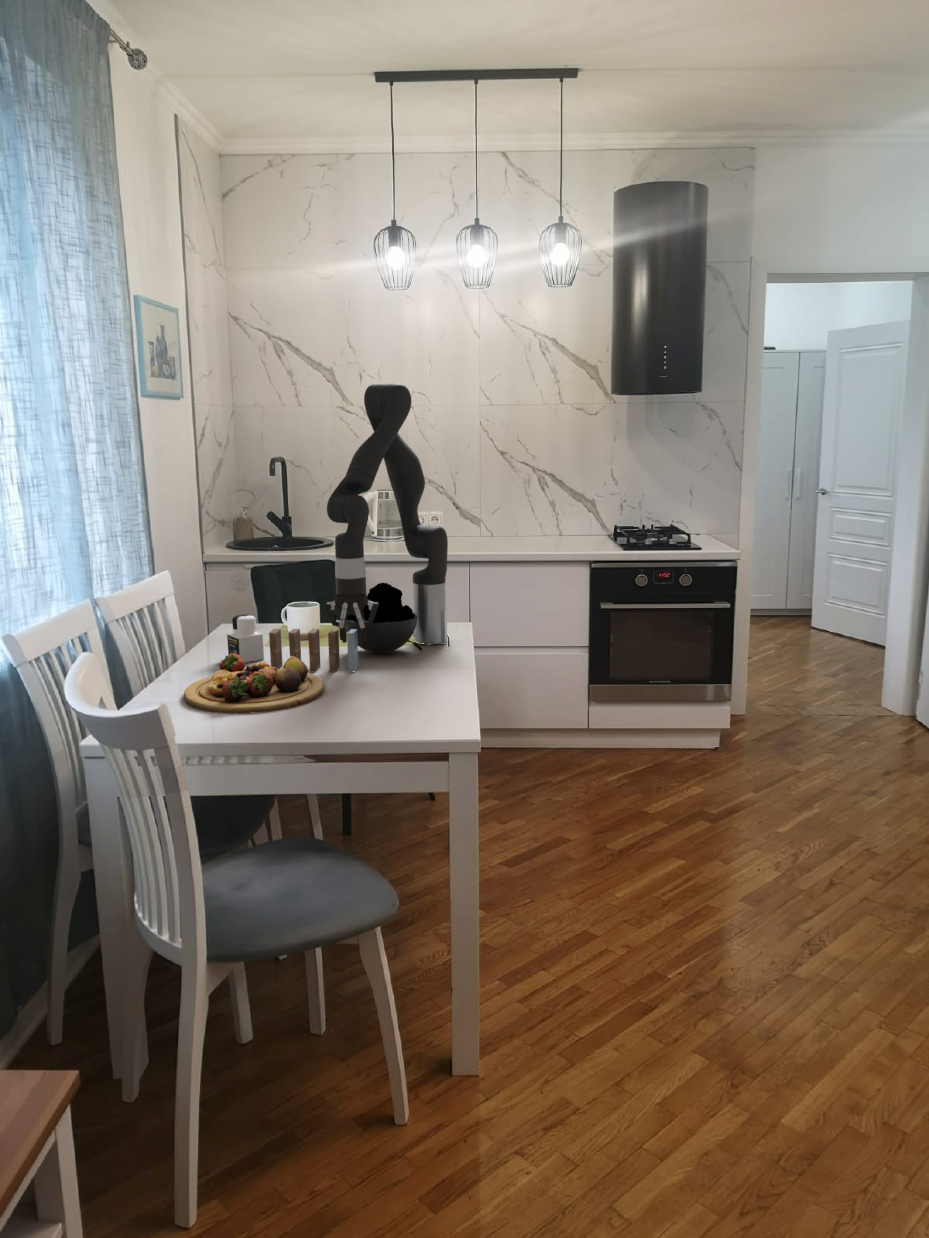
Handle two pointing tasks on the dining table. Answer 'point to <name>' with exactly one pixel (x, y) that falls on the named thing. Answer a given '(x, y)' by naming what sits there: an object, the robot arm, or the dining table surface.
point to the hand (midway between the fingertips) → (353, 641)
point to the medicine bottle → (245, 639)
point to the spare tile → (352, 650)
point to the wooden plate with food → (254, 687)
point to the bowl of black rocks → (385, 621)
